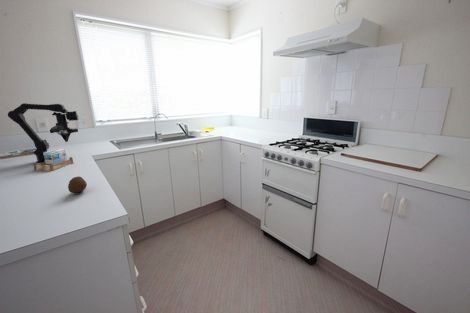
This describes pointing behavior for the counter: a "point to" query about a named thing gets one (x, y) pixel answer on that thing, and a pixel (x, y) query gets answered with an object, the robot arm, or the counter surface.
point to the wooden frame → (52, 167)
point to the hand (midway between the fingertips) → (66, 141)
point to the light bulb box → (55, 156)
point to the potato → (77, 185)
